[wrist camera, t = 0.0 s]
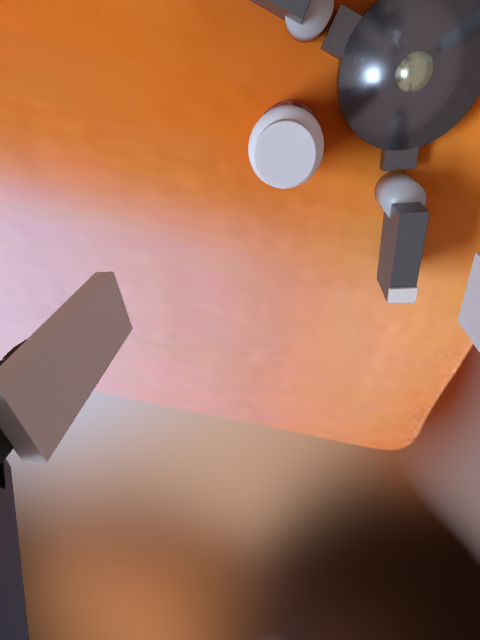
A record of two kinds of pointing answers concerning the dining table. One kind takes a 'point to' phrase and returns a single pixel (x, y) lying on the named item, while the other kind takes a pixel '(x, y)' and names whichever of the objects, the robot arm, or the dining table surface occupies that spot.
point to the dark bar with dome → (401, 235)
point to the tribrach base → (406, 72)
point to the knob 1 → (301, 16)
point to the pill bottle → (286, 145)
